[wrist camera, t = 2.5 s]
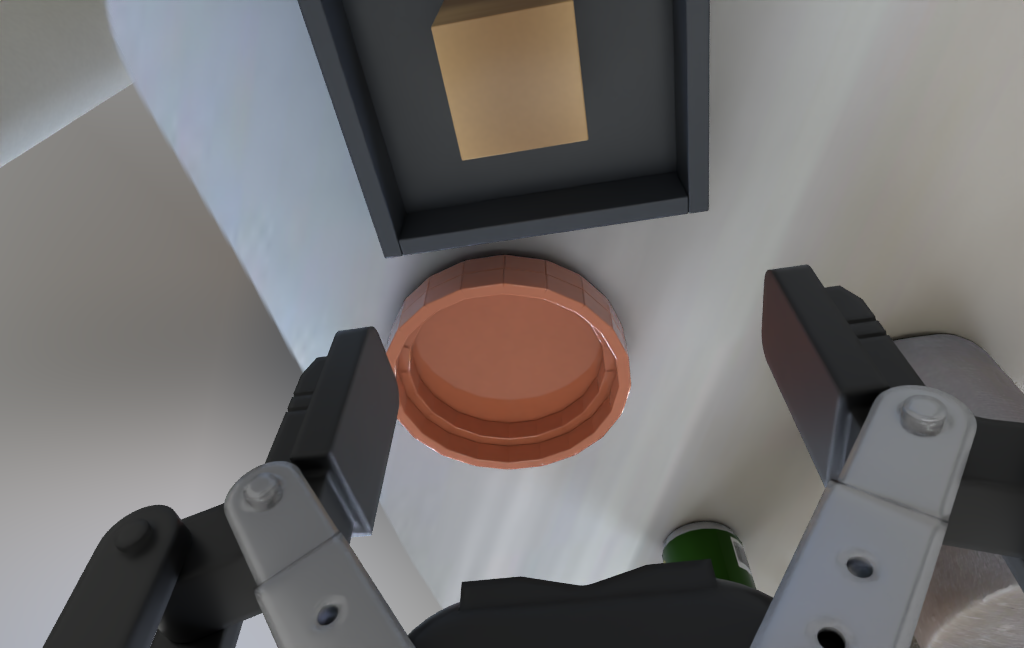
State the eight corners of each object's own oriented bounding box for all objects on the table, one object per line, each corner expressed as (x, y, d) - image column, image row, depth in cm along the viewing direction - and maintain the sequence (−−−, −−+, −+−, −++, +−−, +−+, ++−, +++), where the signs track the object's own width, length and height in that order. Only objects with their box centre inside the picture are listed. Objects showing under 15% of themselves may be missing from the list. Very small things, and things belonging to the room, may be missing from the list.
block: (469, 117, 27) (461, 161, 23) (444, -2, 24) (430, 27, 20) (579, 98, 26) (588, 140, 23) (565, -26, 24) (573, -1, 20)
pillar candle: (885, 477, 40) (1037, 747, 28) (772, 415, 37) (889, 689, 25) (1033, 378, 35) (1293, 656, 23) (916, 298, 32) (1147, 570, 20)
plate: (425, 440, 39) (419, 479, 37) (362, 269, 32) (349, 304, 29) (630, 416, 38) (637, 456, 35) (612, 232, 30) (620, 266, 28)
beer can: (709, 508, 43) (763, 704, 33) (755, 543, 45) (819, 736, 35) (644, 542, 45) (677, 735, 35) (691, 574, 47) (734, 763, 37)
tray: (396, 224, 30) (384, 259, 28) (286, -125, 22) (256, -120, 20) (693, 178, 29) (708, 211, 26) (688, -214, 21) (711, -220, 18)
